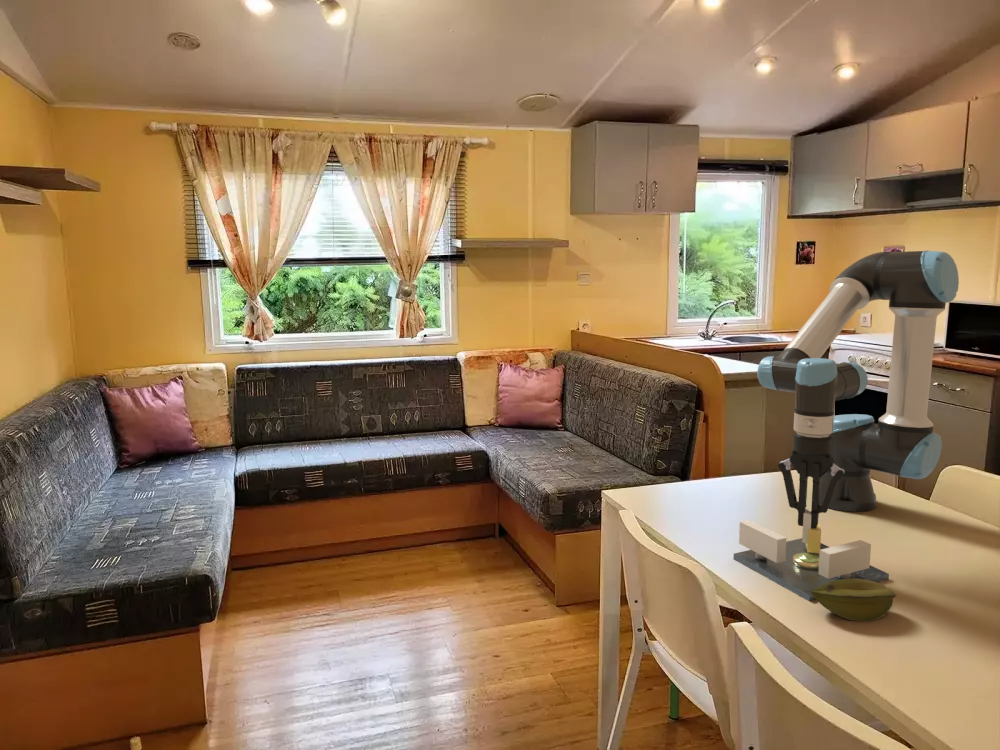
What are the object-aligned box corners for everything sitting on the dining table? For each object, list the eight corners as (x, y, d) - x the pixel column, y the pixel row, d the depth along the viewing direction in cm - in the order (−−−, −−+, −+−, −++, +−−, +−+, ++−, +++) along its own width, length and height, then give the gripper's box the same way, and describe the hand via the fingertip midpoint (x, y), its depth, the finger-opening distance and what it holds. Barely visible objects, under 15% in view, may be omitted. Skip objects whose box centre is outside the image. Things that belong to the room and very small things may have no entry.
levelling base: (807, 541, 161) (807, 530, 160) (888, 579, 142) (889, 566, 141) (733, 558, 153) (733, 546, 153) (809, 601, 134) (810, 587, 133)
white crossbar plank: (738, 548, 155) (739, 521, 154) (747, 546, 155) (748, 520, 154) (776, 568, 145) (777, 539, 144) (785, 566, 145) (786, 537, 144)
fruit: (880, 636, 121) (882, 600, 120) (808, 614, 129) (809, 580, 128) (898, 611, 129) (900, 577, 128) (829, 592, 137) (831, 560, 136)
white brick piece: (858, 568, 143) (860, 540, 142) (869, 573, 141) (871, 544, 140) (818, 579, 139) (819, 549, 138) (827, 584, 137) (829, 554, 136)
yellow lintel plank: (803, 537, 159) (804, 511, 158) (815, 539, 159) (816, 512, 158) (807, 557, 149) (808, 529, 148) (819, 558, 148) (821, 530, 147)
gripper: (776, 433, 147) (771, 541, 151) (845, 441, 140) (838, 553, 144) (783, 426, 153) (778, 529, 157) (849, 432, 146) (842, 540, 150)
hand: (806, 540), depth 150 cm, fingers closed
